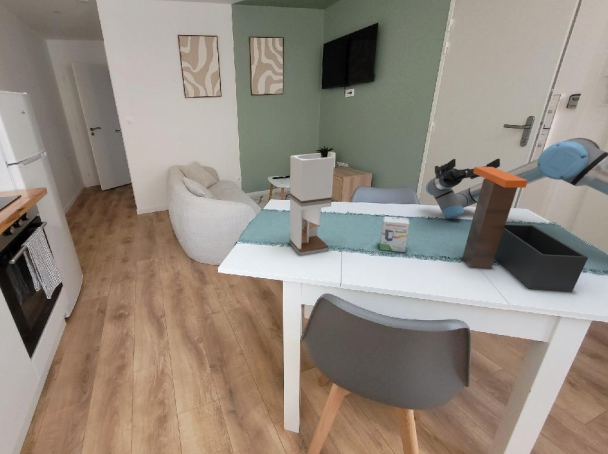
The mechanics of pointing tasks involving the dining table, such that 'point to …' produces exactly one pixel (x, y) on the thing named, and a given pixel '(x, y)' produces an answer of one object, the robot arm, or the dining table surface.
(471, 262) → the post
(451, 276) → the dining table surface
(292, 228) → the white coffee grinder
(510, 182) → the orange plank
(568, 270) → the trash bin
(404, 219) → the ink box
